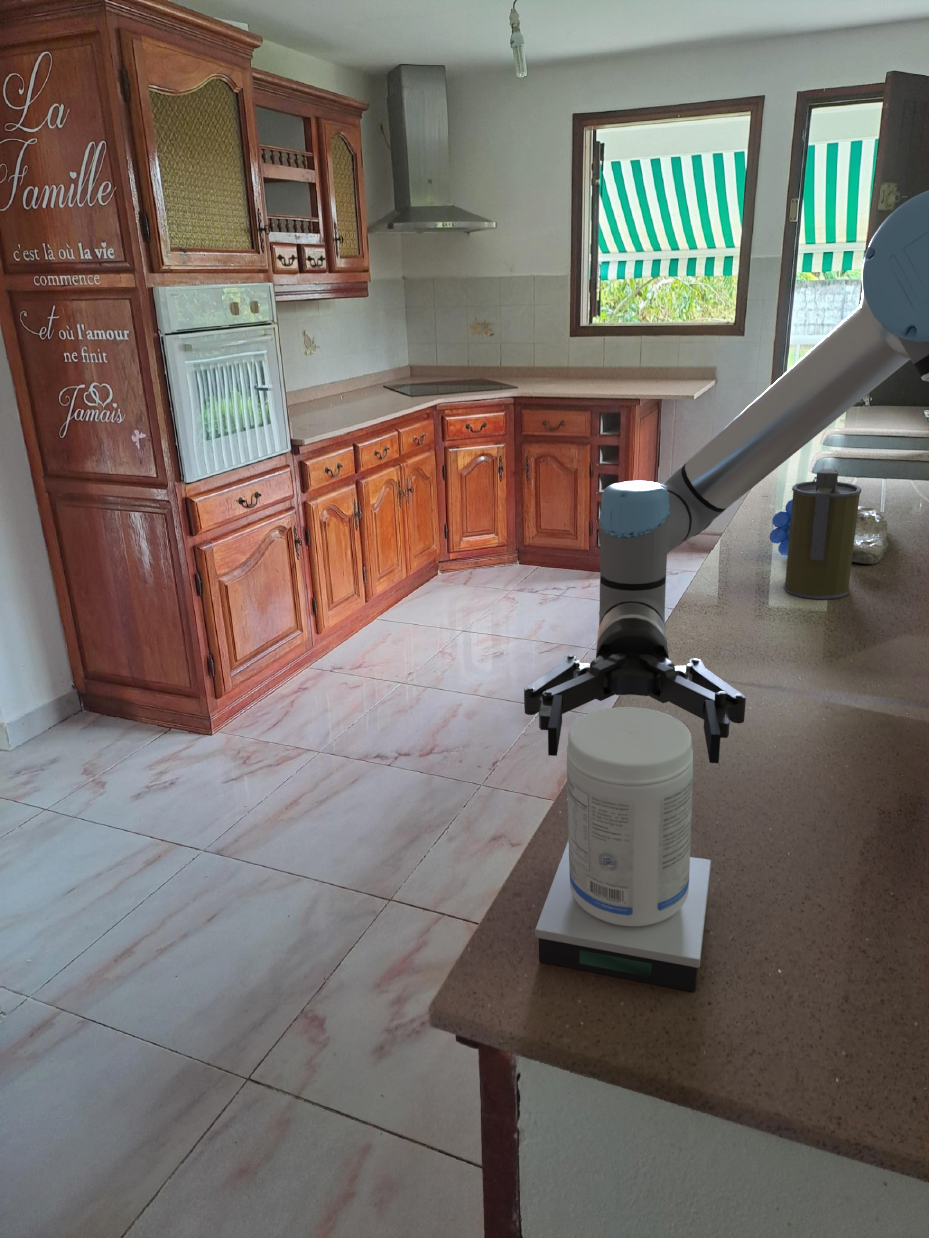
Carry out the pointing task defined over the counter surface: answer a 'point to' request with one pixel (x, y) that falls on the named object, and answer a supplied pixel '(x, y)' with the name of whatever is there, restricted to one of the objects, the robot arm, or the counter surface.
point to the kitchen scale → (625, 935)
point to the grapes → (782, 529)
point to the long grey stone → (869, 536)
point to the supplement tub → (629, 814)
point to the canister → (822, 537)
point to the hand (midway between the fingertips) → (632, 745)
